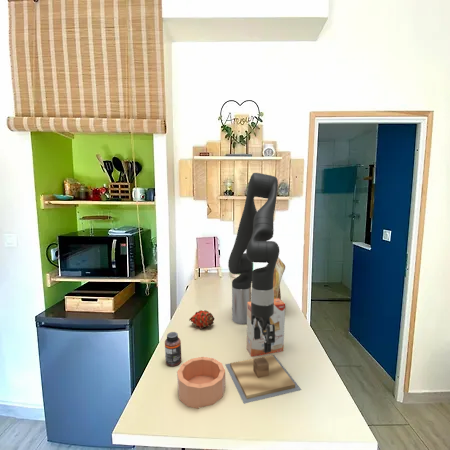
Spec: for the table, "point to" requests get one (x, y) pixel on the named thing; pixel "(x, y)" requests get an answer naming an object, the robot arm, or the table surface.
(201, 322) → the dragon fruit
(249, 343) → the cracker box
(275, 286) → the pancake mix bag
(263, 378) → the board
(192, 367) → the bowl
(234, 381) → the mat
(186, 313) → the table surface
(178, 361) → the supplement bottle
